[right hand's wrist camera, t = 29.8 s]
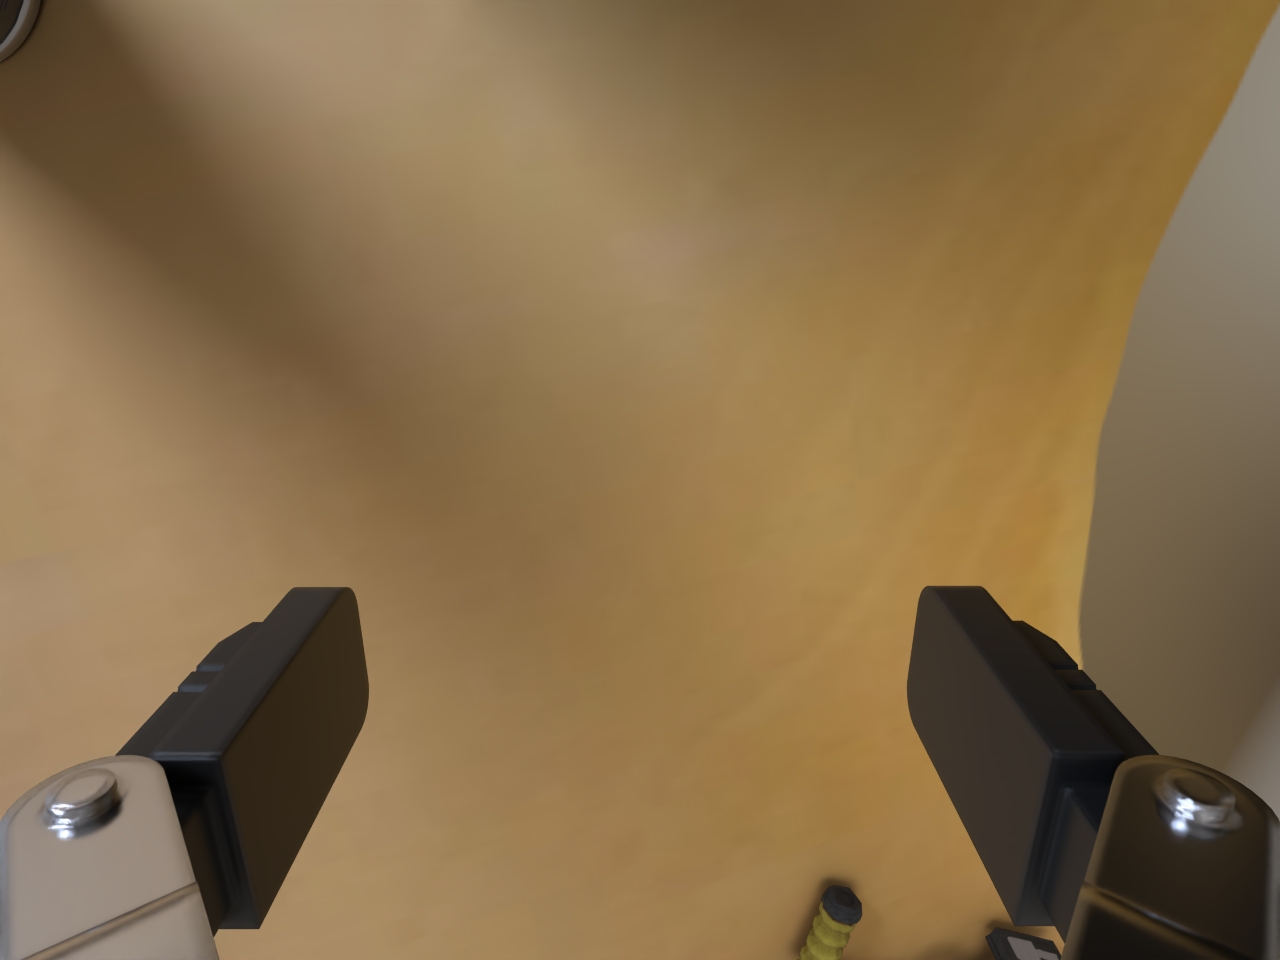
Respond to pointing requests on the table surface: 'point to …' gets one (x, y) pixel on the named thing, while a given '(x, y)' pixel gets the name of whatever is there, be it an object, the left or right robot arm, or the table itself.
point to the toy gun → (841, 910)
